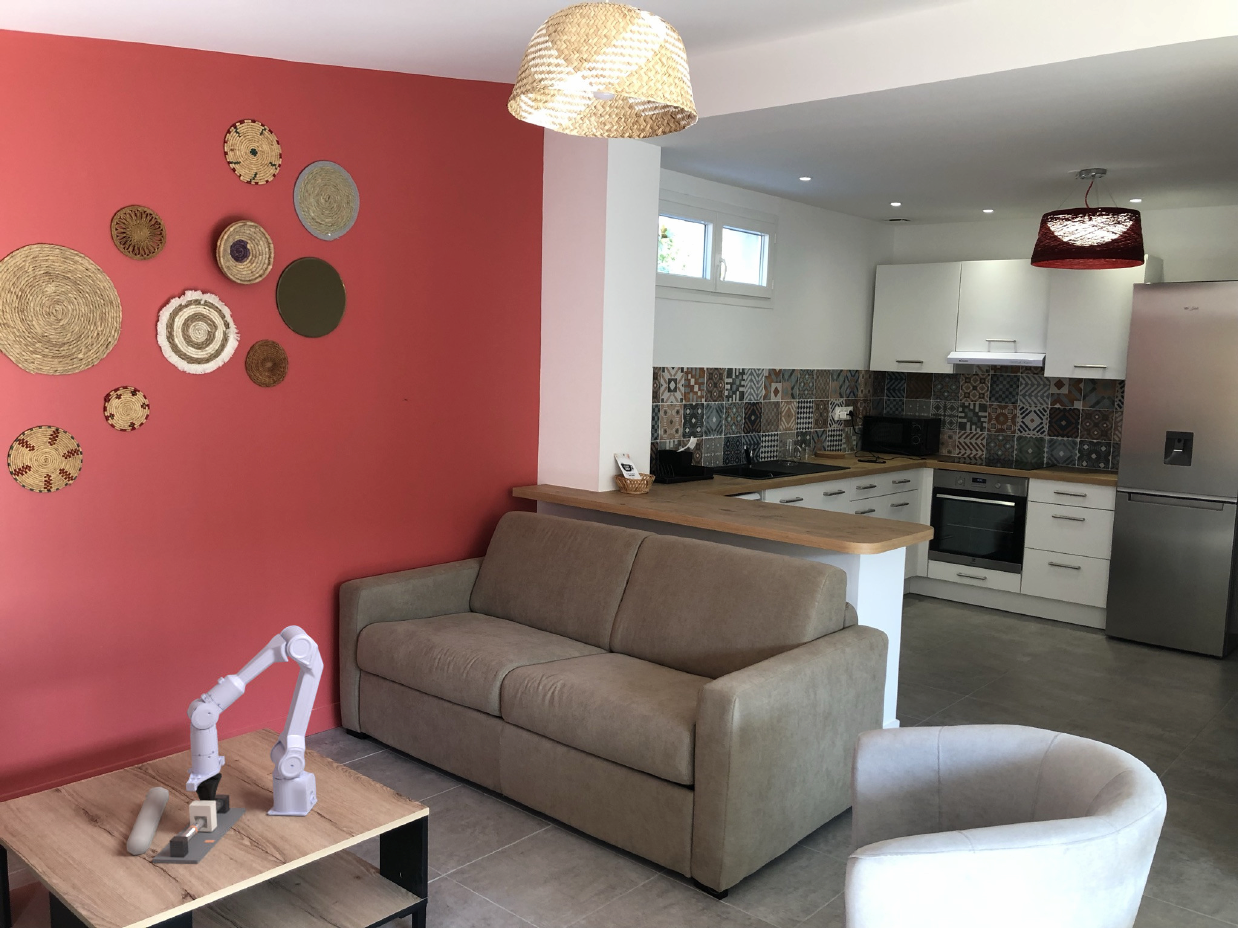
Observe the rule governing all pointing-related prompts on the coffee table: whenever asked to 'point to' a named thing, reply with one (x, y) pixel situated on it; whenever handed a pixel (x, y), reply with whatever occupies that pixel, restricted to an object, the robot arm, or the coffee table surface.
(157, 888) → the coffee table surface
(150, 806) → the tube
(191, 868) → the coffee table surface
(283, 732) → the robot arm
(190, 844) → the rod board
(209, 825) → the collar
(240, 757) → the coffee table surface
